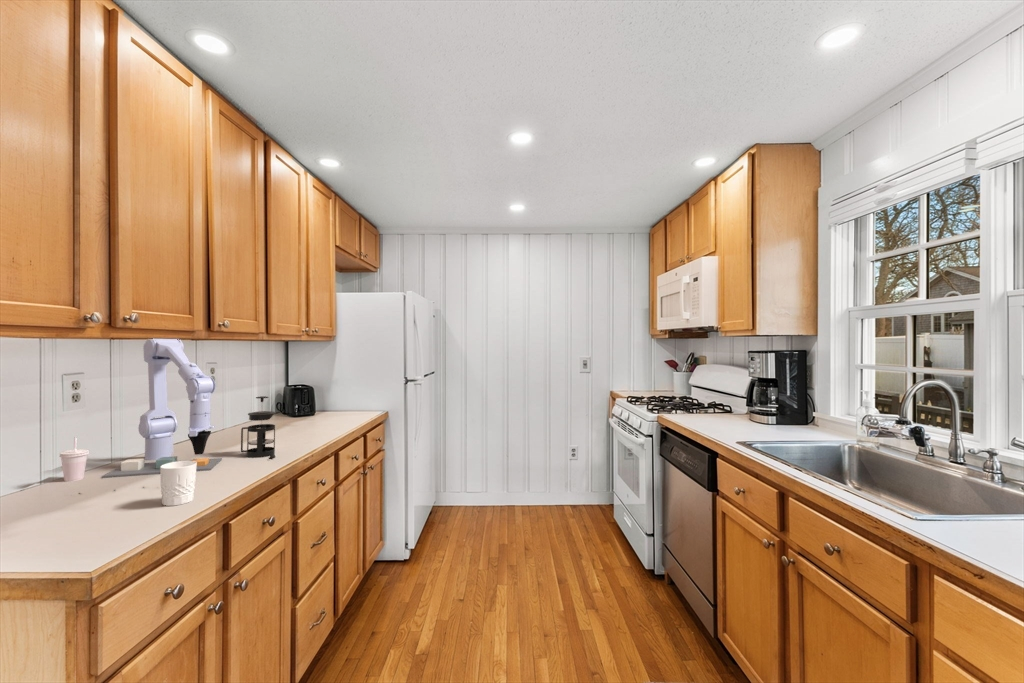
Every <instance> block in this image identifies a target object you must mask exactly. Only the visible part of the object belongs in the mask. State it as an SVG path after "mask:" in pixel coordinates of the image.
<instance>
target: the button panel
mask: <svg viewBox="0 0 1024 683" xmlns="http://www.w3.org/2000/svg"><path fill="white" fill-rule="evenodd" d="M192 460H193V459H185V460H183V459H182V461H192ZM222 461H223V457H217V458H214V457H213V458H209V463H208V464H207V465H205V466H197V468H196V472H204V471H205V472H206V471H209V472H210V471H212V470H213V469H214V468H215V467H216V466H217V465H218V464H220V462H222ZM151 475H153V476H154V475H160V469H156V461H155V462H154V461H153V462H144V467H143V468H141V469H140V470H132V471H121V465H120V466H118V467H116V468H114V469H113V470H110V471H109V472H107V473H105V474H103V475H101V479H110V478H122V477H123V478H125V477H138V476H151Z"/></svg>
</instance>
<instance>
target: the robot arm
mask: <svg viewBox="0 0 1024 683" xmlns="http://www.w3.org/2000/svg"><path fill="white" fill-rule="evenodd" d="M177 339H178V340H177ZM179 339H180V338H153V339H149V338H148V339H146V341H145V343H144V344H143V348H142V349H143V361H144V362H145V363H147V373H148V374H147V375H148V377H147V378H148V402H149V409H148V410H147V411H146V412H144V413H143V414H142V415H140V417H139V424H138V433H139V434H140V436H141V437H142V438H144V461H156V460H158V459H159V458H161V457H172V456H174V438H173V437H172V436H174V433H175V432H176V431H177V429H178V427H179V426H178V425H179V423H178V420H177V416H176V412H174V411H173V410H171V409H169V408H168V384H167V381H168V380H167V365H168V363H170V362H173V363H174V364H175V366H177V368H178V372H177V373H178V375H179V376H180V377H181V379H182V380H183V381H184V383H185V384H186V386H185V388H186V389H185V390H186V392H187V398H188V400H189V427H188V433H187V437H188V439H189V440H190V442H191V445H192V448H193V453H194V455H196V456H197V455H203V454H204V453H205V449H206V445H207V441H208V439H209V437H210V436H211V433H212V430H210V429H214V428H215V425H211V414H212V413H211V410H212V409H211V407H212V404H211V403H212V394H213V393H214V392H215V389H216V382H215V380H214V377H212V376H208V375H206V374H205V373H204V372H203V371H202V370H201V369H200V367H199V366H198V365H197V364H196V363H195V362H190V359H189V358H188V356H187V355H186V354H185V352H184V349H185V348H184V347H185V346H184V343H183V341H182V340H181V339H180V340H179Z"/></svg>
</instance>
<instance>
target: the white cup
mask: <svg viewBox="0 0 1024 683" xmlns="http://www.w3.org/2000/svg"><path fill="white" fill-rule="evenodd" d="M196 468H197V462H196V461H183V460H177V462H171V463H167V464H164V465H162V466H160V474H159V475H160V493H161V504H162V505H163V506H165V505H166V506H167V507H174V506H182V505H185V504H189V503H190V502H193V500H194V498H195V488H196V480H197V471H196Z"/></svg>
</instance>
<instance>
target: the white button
mask: <svg viewBox="0 0 1024 683" xmlns="http://www.w3.org/2000/svg"><path fill="white" fill-rule="evenodd" d="M144 463H145V457H144V458H129V459H125V460H124V461H122V462H120V466H121V471H132V470H140V469H141V468H143V467H144Z"/></svg>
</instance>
